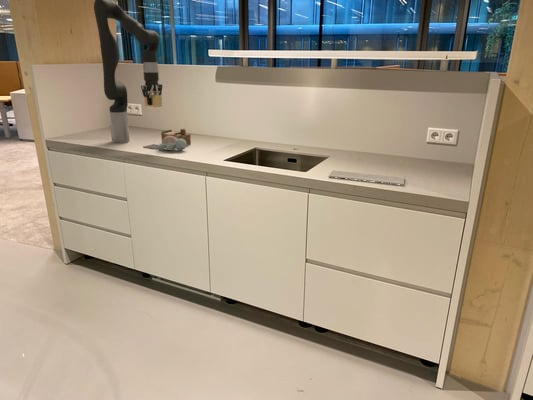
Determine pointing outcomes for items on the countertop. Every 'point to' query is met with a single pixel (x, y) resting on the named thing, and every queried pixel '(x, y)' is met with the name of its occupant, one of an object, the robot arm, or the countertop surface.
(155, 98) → the olive yellow block
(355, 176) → the flat grey slab
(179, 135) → the brown notched block
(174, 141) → the toy
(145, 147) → the mat
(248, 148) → the countertop surface
